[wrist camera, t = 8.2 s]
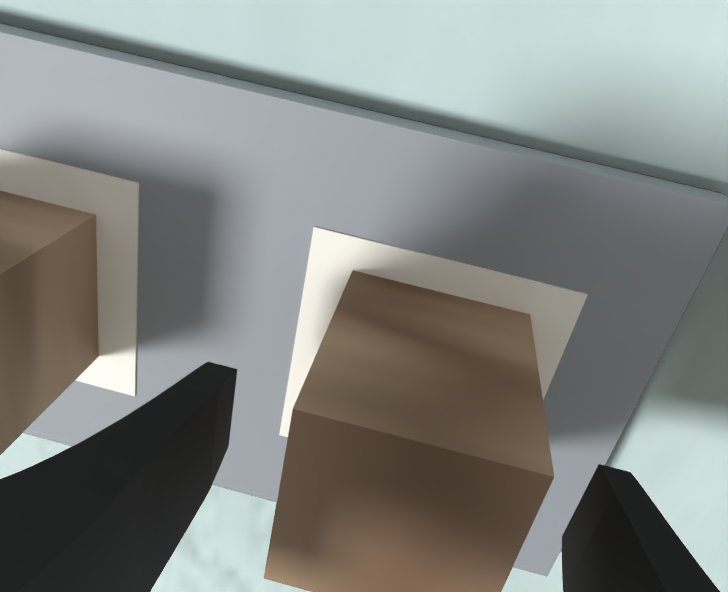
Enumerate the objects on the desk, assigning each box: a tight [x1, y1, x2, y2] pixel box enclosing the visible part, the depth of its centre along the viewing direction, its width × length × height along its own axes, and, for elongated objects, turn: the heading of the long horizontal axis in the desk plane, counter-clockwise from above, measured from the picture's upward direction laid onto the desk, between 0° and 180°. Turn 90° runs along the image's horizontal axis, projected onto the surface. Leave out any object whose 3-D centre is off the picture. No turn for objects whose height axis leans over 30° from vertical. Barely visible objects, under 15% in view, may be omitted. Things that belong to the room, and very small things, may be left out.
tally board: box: [0, 23, 728, 576], centre depth 15 cm, size 20×11×1 cm, turn 78°
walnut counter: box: [264, 270, 554, 592], centre depth 12 cm, size 4×4×5 cm
